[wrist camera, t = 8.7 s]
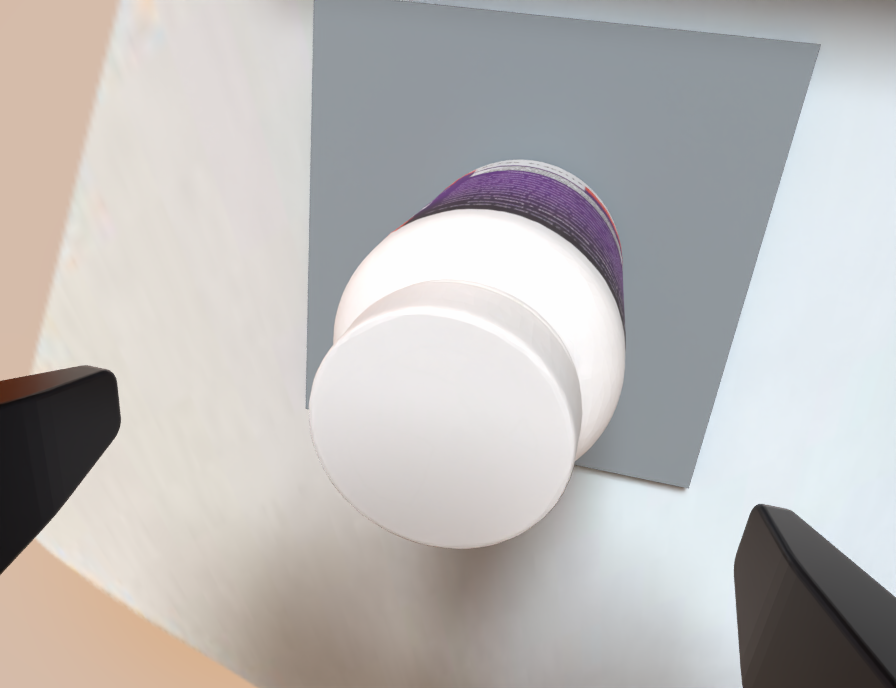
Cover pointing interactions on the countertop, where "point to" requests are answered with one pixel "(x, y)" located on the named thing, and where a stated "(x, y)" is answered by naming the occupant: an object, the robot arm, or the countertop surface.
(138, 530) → the countertop surface
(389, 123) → the mat
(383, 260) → the pill bottle
